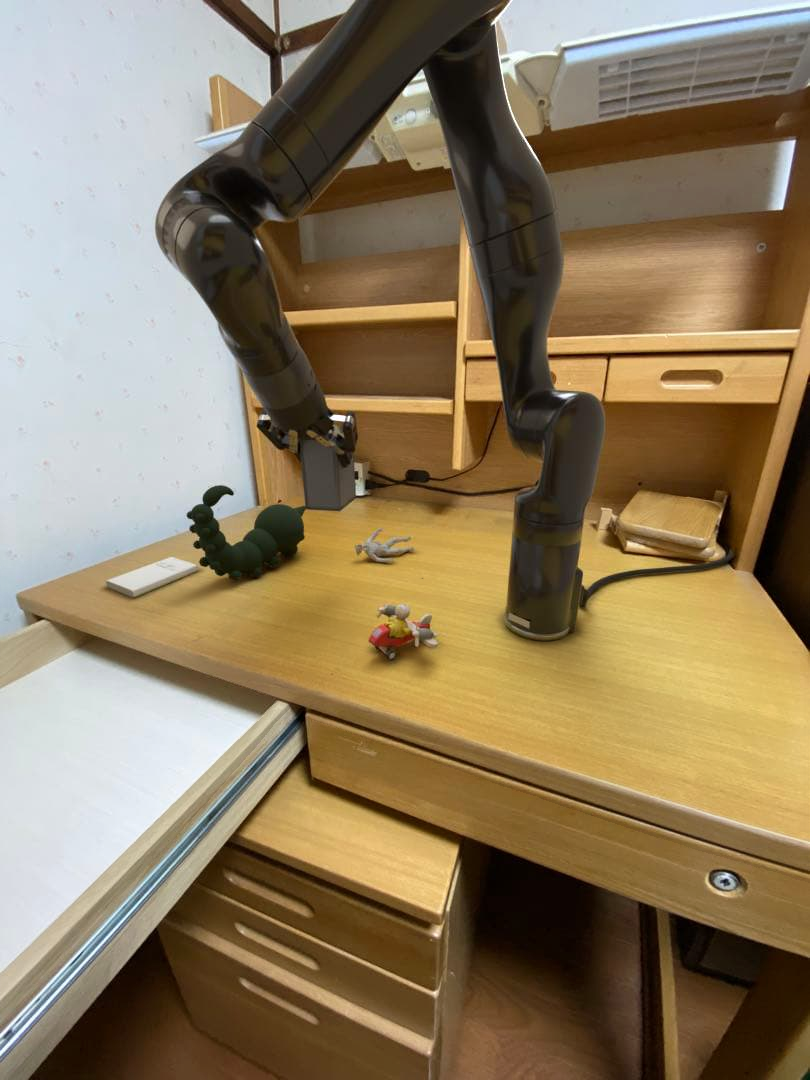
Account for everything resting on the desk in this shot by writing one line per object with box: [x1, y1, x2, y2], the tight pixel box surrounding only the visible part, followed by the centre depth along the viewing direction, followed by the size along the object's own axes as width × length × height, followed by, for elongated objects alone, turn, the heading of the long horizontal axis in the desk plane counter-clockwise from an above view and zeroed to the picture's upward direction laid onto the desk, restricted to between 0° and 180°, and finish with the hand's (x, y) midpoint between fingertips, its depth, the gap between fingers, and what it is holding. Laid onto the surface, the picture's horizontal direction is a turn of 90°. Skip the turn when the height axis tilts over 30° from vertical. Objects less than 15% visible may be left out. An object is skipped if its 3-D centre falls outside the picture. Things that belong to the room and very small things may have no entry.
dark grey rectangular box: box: [299, 429, 357, 512], centre depth 71 cm, size 11×6×8 cm
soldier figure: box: [354, 526, 415, 563], centre depth 92 cm, size 8×5×12 cm
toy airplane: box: [368, 602, 439, 661], centre depth 63 cm, size 9×9×6 cm
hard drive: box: [105, 556, 199, 599], centre depth 84 cm, size 2×8×12 cm
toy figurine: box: [186, 484, 307, 582], centre depth 86 cm, size 9×19×25 cm
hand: (327, 461), depth 70 cm, fingers closed on dark grey rectangular box, 5 cm apart
